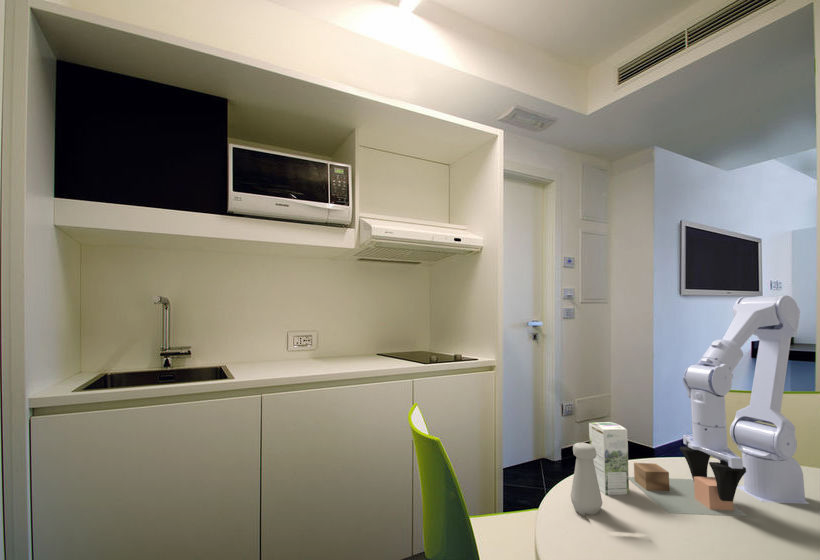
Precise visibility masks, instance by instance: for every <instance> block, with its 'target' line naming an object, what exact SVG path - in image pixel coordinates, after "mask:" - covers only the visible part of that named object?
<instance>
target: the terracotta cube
mask: <svg viewBox="0 0 820 560" xmlns="http://www.w3.org/2000/svg"><path fill="white" fill-rule="evenodd" d="M694 491H695V499H696V500H698V501H699V502H700V503H702V504H703V505H705V506H706V507H708V508H709V509H717V510H734V509H733V506H734V500H733V501H722V500H720V498H719V495H718V490H717V483H716V479H715V476H707V477H694Z"/></svg>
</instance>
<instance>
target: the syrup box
mask: <svg viewBox="0 0 820 560" xmlns="http://www.w3.org/2000/svg"><path fill="white" fill-rule="evenodd" d="M588 437H589V438H588V439H589V441H588V442H589V443H588V444H591V445H592V446H594V447H595V449H596V458H594V459H593V461H594V466H595V471H596V475H597V480H598V484H599V489H600V493H602V494H603V495H604V496H615V495H629V494H630V485H629V481H630V480H629V477H630V476H629V443H628V439H629V438H628V429H627V428H626V427H624V426H622V425H620V424H618V423H615V422H612V421H606V422H605V421H604V422H603V421H602V422H589V423H588Z"/></svg>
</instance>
